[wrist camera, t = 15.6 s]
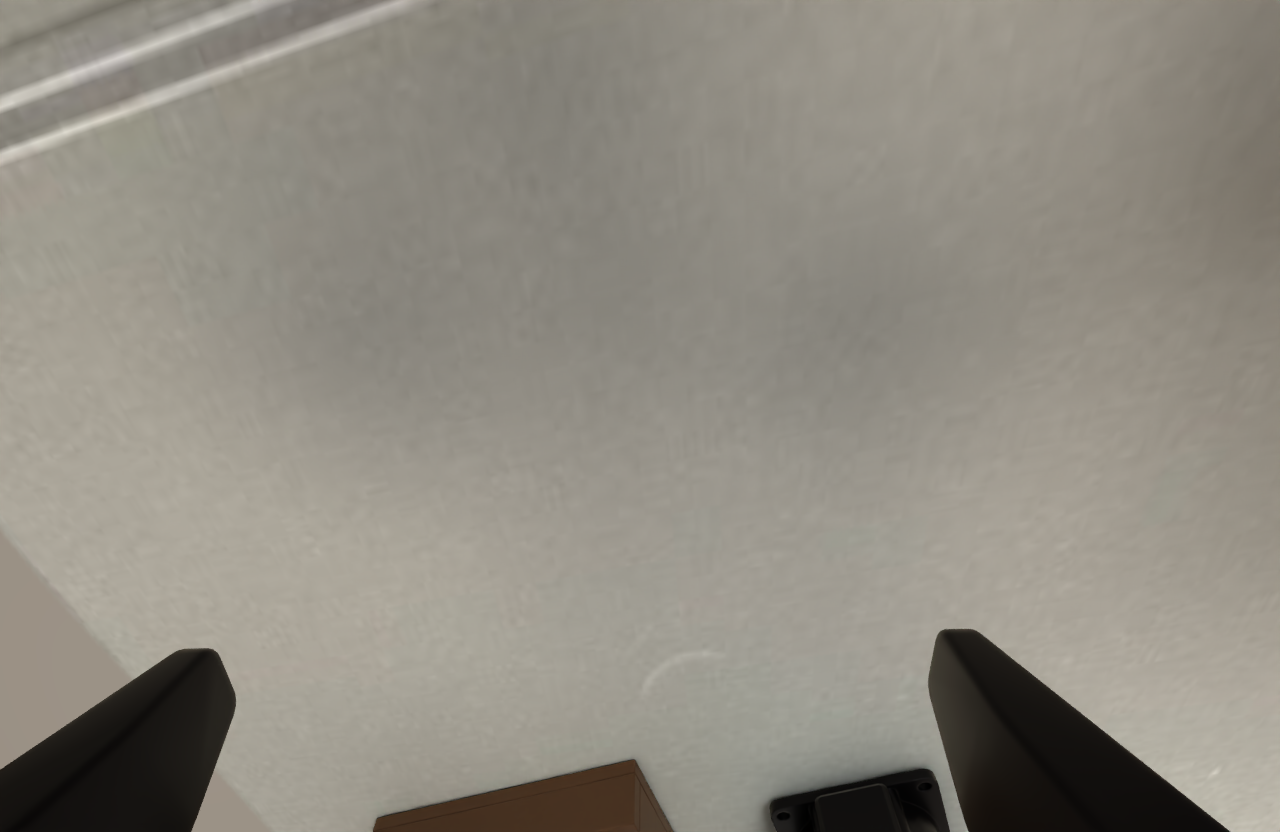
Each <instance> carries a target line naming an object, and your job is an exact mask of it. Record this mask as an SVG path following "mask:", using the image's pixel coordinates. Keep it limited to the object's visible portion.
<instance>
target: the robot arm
mask: <svg viewBox="0 0 1280 832" xmlns="http://www.w3.org/2000/svg"><path fill="white" fill-rule="evenodd" d="M928 687H929V694H930V699H931V702H932V706H933V709H934V713H935V717H936V720H937V724H938V728H939V731H940V735H941V738H942V742H943V746H944V749H945V753H946V757H947V760H948V764H949V767H950V771H951V775H952V778H953V782H954V786H955V789H956V793H957V796H958V800H959V803H960V807H961V810H962V813H963V817H964V820H965V823H966V826H967V828H968V831H969V832H1230V831H1229V830H1228V829H1226V828H1225V827H1224V826H1223V825H1221V824H1220V823H1219V822H1217V821H1216V820H1215V819H1214V818H1212V817H1211V816H1210V815H1209V814H1207V813H1206V812H1205V811H1204V810H1202V809H1201V808H1200V807H1199V806H1197V805H1196V804H1195V803H1193V802H1192V801H1191V800H1190V799H1188V798H1187V797H1186V796H1185V795H1183V794H1182V793H1181V792H1180V791H1178V790H1177V789H1176V788H1175V787H1173V786H1172V785H1171V784H1170V783H1168V782H1167V781H1166V780H1164V779H1163V778H1162V777H1161V776H1159V775H1158V774H1157V773H1156V772H1154V771H1153V770H1152V769H1151V768H1149V767H1148V766H1147V765H1146V764H1144V763H1143V762H1142V761H1141V760H1139V759H1138V758H1137V757H1135V756H1134V755H1133V754H1132V753H1130V752H1129V751H1128V750H1127V749H1125V748H1124V747H1123V746H1122V745H1120V744H1119V743H1118V742H1117V741H1115V740H1114V739H1113V738H1112V737H1110V736H1109V735H1108V734H1106V733H1105V732H1104V731H1103V730H1101V729H1100V728H1099V727H1098V726H1096V725H1095V724H1094V723H1093V722H1091V721H1090V720H1089V719H1088V718H1086V717H1085V716H1084V715H1083V714H1081V713H1080V712H1079V711H1077V710H1076V709H1075V708H1074V707H1072V706H1071V705H1070V704H1069V703H1067V702H1066V701H1065V700H1064V699H1062V698H1061V697H1060V696H1059V695H1057V694H1056V693H1055V692H1054V691H1052V690H1051V689H1050V688H1048V687H1047V686H1046V685H1045V684H1043V683H1042V682H1041V681H1040V680H1038V679H1037V678H1036V677H1035V676H1033V675H1032V674H1031V673H1030V672H1028V671H1027V670H1026V669H1025V668H1023V667H1022V666H1021V665H1019V664H1018V663H1017V662H1016V661H1014V660H1013V659H1012V658H1011V657H1009V656H1008V655H1007V654H1006V653H1004V652H1003V651H1002V650H1001V649H999V648H998V647H997V646H995V645H994V644H993V643H992V642H990V641H989V640H988V639H987V638H985V637H984V636H983V635H982V634H980V633H979V632H977V631H975V630H973V629H945V630H942V631H940V632H939V633H938V635H937V638H936V642H935V647H934V652H933V657H932V662H931V667H930V672H929V678H928ZM235 707H236V696H235V692H234V689H233V687H232V684H231V682H230V679H229V677H228V675H227V672H226V670H225V668H224V665H223V663H222V661H221V658H220V656H219V654H218V653H217V652H216V651H214V650H213V649H209V648H201V649H182V650H178V651H176V652H174V653H173V654H171V655H170V656H168V657H167V658H165V659H164V660H162V661H161V662H159V663H158V664H156V665H155V666H153V667H152V668H150V669H149V670H147V671H146V672H144V673H143V674H141V675H140V676H138V677H137V678H135V679H134V680H133V681H131V682H130V683H128V684H127V685H125V686H124V687H122V688H121V689H119V690H118V691H116V692H115V693H113V694H112V695H110V696H109V697H107V698H106V699H104V700H103V701H102V702H100V703H99V704H97V705H95V706H94V707H93V708H91V709H90V710H88V711H87V712H85V713H84V714H82V715H81V716H79V717H78V718H76V719H75V720H73V721H72V722H70V723H69V724H67V725H66V726H64V727H63V728H61V729H60V730H59V731H57V732H56V733H54V734H53V735H51V736H50V737H48V738H47V739H45V740H44V741H42V742H41V743H39V744H38V745H36V746H35V747H33V748H32V749H30V750H29V751H27V752H26V753H25V754H23V755H21V756H20V757H18V758H17V759H16V760H14V761H13V762H11V763H10V764H8V765H7V766H5V767H4V768H2V769H1V770H0V832H191V831H192V828H193V825H194V823H195V820H196V818H197V815H198V813H199V810H200V807H201V804H202V802H203V799H204V796H205V793H206V790H207V787H208V785H209V782H210V779H211V777H212V774H213V771H214V768H215V766H216V763H217V760H218V757H219V754H220V752H221V749H222V746H223V743H224V741H225V738H226V735H227V732H228V730H229V727H230V724H231V721H232V718H233V716H234V712H235ZM770 813H771V819H772V821H773V824H774V826H775V828H776V831H777V832H950V830H949V826H948V822H947V818H946V814H945V810H944V806H943V802H942V798H941V794H940V790H939V786H938V783H937V780H936V777H935V775H934V773H933V772H932V771H930V770H928V769H918V770H914V771H909V772H904V773H899V774H895V775H890V776H885V777H881V778H876V779H871V780H866V781H862V782H857V783H852V784H847V785H843V786H838V787H833V788H829V789H824V790H819V791H814V792H810V793H805V794H800V795H795V796H791V797H786V798H781V799H778V800H775V801H773V802H772V803H771V804H770Z"/></svg>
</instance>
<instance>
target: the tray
mask: <svg viewBox="0 0 1280 832" xmlns="http://www.w3.org/2000/svg"><path fill="white" fill-rule="evenodd" d="M373 832H673V830H672V828H671V826H670V825H669V823H668V821H667V819H666V817H665V815H664V813H663V812H662V810H661V808H660V806H659V804H658V802H657V800H656V798H655V797H654V795H653V793H652V791H651V789H650V787H649V785H648V783H647V782H646V780H645V778H644V776H643V774H642V772H641V770H640V768H639V767H638V765H637V763H636V761H635V760H630V761H626V762H621V763H617V764H612V765H608V766H604V767H599V768H595V769H590V770H586V771H582V772H577V773H573V774H569V775H564V776H560V777H555V778H551V779H547V780H542V781H538V782H533V783H529V784H525V785H520V786H516V787H512V788H507V789H503V790H498V791H494V792H490V793H485V794H481V795H476V796H472V797H468V798H463V799H459V800H455V801H450V802H446V803H441V804H437V805H433V806H428V807H424V808H419V809H415V810H411V811H406V812H402V813H398V814H393V815H389V816H384V817H380V818H377V820H376V823H375V826H374V829H373Z"/></svg>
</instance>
